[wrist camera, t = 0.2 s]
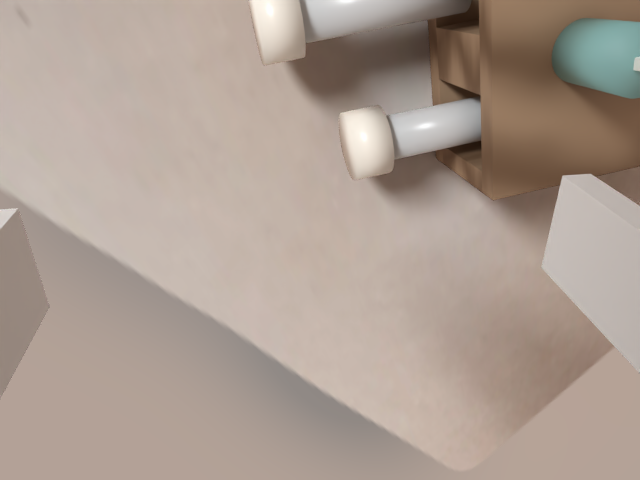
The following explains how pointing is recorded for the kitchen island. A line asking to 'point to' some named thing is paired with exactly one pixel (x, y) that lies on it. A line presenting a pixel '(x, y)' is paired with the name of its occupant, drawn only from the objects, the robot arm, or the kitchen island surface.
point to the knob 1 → (333, 21)
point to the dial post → (600, 56)
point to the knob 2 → (404, 134)
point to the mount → (529, 96)
